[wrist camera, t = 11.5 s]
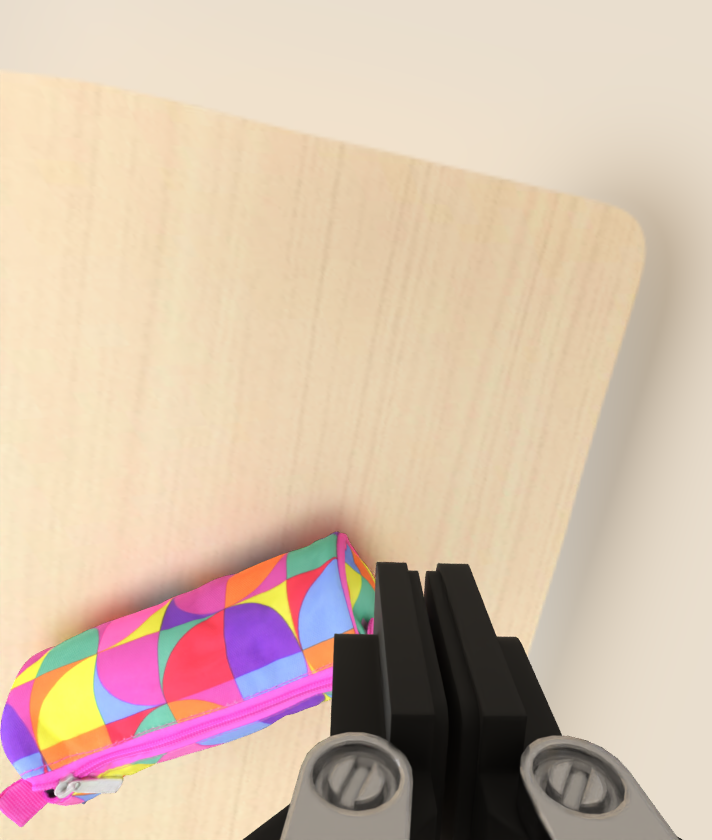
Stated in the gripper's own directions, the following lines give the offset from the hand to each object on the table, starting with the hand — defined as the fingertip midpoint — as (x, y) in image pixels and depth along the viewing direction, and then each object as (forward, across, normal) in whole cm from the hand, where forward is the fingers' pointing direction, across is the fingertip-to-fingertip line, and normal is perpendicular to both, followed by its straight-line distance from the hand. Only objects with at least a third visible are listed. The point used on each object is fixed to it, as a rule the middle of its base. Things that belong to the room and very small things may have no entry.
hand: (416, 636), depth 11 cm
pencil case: (+26, +9, +16) cm, 32 cm away
